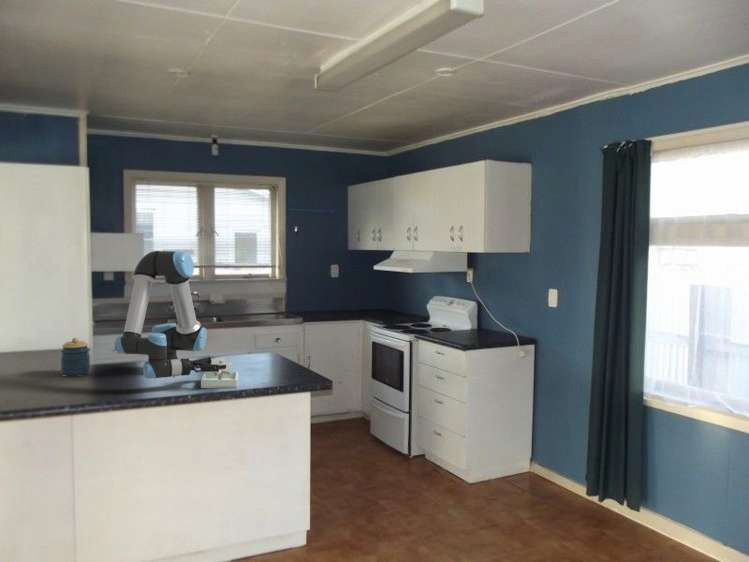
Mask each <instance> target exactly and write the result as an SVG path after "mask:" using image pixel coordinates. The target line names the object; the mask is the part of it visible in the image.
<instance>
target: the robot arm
mask: <svg viewBox="0 0 749 562" xmlns="http://www.w3.org/2000/svg"><path fill="white" fill-rule="evenodd" d="M192 258H193V257H192V256H191V254H190V253H188V252H185V251H180V250H177V251H172V250H171V251H168V250H153V251H150V252H148V253H147V254H145V255H144V256H143V257H142V258H141V259H140V260H139V261H138V263H137V265H136V266H135V269H134V271H133V275H132V279H134V282H133V286H132V291H131V297H130V302H129V305H128V311H127V315H126V319H125V320H126V321H125V323H124V324H125V325H124V330H123V333H122V335H121V336H118V337H116V340H115V341H114V351H115V352H117V354H122V355H140V356H142V355H143V356H147V358H148V359H147V360H146V361H144V362H143V364H142V373H143V377H144V378H145V379H146V380H147V379H161V378H170V377H171V378H173V379H174V378H175V377H181V376H184V377H185V376H189V375H191V372H192V371H194V372H196V373H200V372H202V373H203V372H212V371H217V372H219V370H225V369H227V370H233V368H234V365H233V364H234V362H226V357H218V358H215V357H214V358H212V357H211V356H208V357H204V358H199V359H192V360H190V359H189V358H180V359H179V357H178V355H177V351H186V352H201V351H202V350H203V349H204V348H205V345H206V343H207V338H208V330H207V328H206V327H203V326H202V325H201V321H198V320H197V317H196V312H195V307H194V303H193V298H192V292H191V287H190V280H191V278H192V276H193V274H194V270H195V268H194V261H193V259H192ZM157 277H163V279H164V282H165V283H166V284H167V285H169V289H170V292H171V293H170V294H171V297H172V301H173V307H174V311H175V316H176V320H177V323H178V324H177V323H175V322H172V323H171V322H169V323H162V324H156V325H154V326H153V327H152V328H151V333H150V334H148V335H147V336H148V337H142V332H143V327H144V323H145V319H146V313H147V308H148V304H149V301H150V295H151V292H152V291H151V290H152V286H153V283H156V282H155V281H156V278H157ZM220 360H223V363H222V364H219V361H220ZM215 368H216V369H215Z"/></svg>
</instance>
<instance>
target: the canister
mask: <svg viewBox="0 0 749 562" xmlns="http://www.w3.org/2000/svg"><path fill="white" fill-rule="evenodd" d="M61 347H62V349H60V351H59V352H60V353H61V356H60V374H62V375H66V376H78V375H84V376H86V375H85V374H88V375H89V374H90V373H91V354H90V350H91V348H90V347H89V344H88V343H87V342H86V341H84V340H79V338H77V337H73V338H72V339H71V340H70V341H67V342H65V343H63V344H62V345H61ZM62 375H61V376H62Z"/></svg>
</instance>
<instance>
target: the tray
mask: <svg viewBox="0 0 749 562" xmlns="http://www.w3.org/2000/svg"><path fill="white" fill-rule="evenodd" d="M237 383H239V371H232V373H231V375H229V374H223V375H222V380H218V375H217V376H215V375H214V372H204V373H203V374H202V378H201V380H200V389H201V388H220V389H237V388H238V384H237Z"/></svg>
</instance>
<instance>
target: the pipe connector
mask: <svg viewBox="0 0 749 562" xmlns="http://www.w3.org/2000/svg"><path fill="white" fill-rule="evenodd" d="M222 363H223V360H220V361H219V364H222ZM215 369H216V367H215ZM212 372H214V375H215V376H217V375H218V380H222V375H223V374H229V375H231V373H232V372H233V371H232V370H230V369H225V370H219V372H217V371H212Z"/></svg>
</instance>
